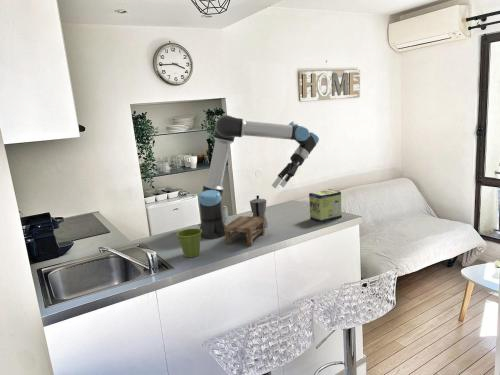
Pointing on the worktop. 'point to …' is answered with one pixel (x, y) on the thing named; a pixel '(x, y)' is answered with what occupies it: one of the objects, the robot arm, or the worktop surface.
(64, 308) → the worktop surface
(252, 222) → the stool
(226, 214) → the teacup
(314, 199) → the protein box
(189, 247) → the plant pot
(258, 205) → the coffeepot
